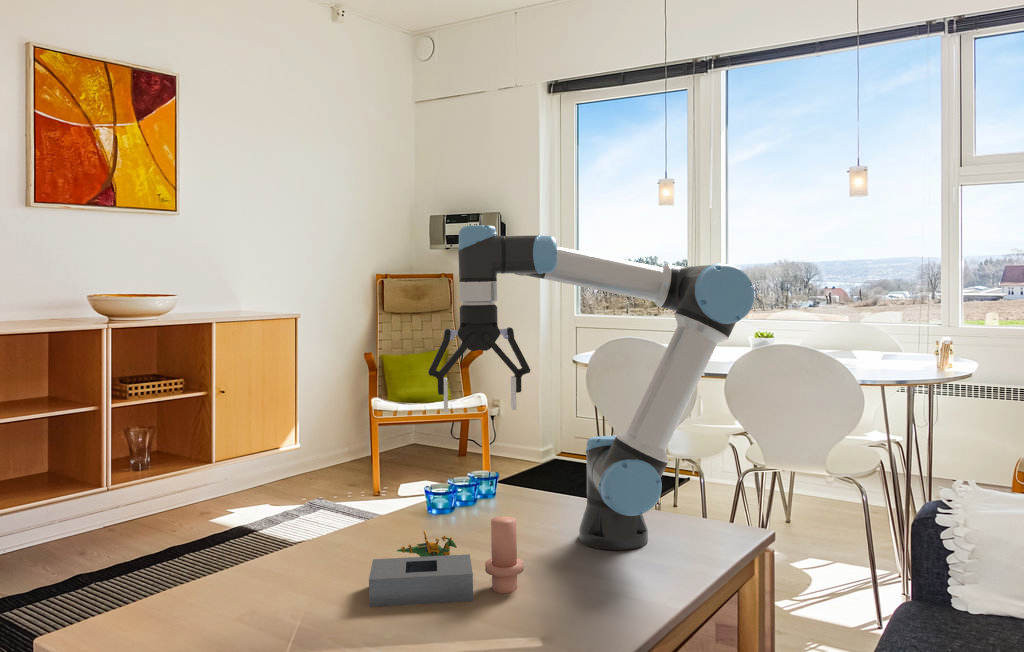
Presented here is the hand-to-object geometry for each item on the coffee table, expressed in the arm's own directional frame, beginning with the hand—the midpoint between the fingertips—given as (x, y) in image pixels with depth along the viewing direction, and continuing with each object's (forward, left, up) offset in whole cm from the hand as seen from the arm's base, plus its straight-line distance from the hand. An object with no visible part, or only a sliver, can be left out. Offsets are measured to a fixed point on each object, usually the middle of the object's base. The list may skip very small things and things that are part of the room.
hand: (480, 410), depth 153 cm
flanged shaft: (-3, +15, -32) cm, 35 cm away
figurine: (+11, +1, -32) cm, 34 cm away
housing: (+12, +15, -32) cm, 37 cm away
